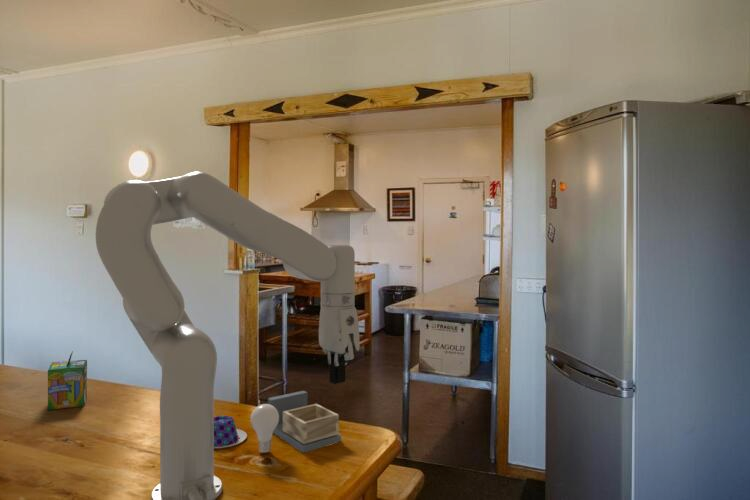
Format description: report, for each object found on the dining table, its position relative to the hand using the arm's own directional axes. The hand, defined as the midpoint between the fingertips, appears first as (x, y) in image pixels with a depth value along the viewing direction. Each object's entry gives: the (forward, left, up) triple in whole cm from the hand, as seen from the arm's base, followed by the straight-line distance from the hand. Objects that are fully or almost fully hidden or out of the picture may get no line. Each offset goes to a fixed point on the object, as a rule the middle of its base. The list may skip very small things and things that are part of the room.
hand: (337, 381), depth 114 cm
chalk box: (+75, +42, -17) cm, 88 cm away
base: (+14, 0, -17) cm, 22 cm away
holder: (+11, 0, -15) cm, 18 cm away
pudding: (+24, +17, -17) cm, 34 cm away
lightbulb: (+11, +12, -17) cm, 23 cm away
